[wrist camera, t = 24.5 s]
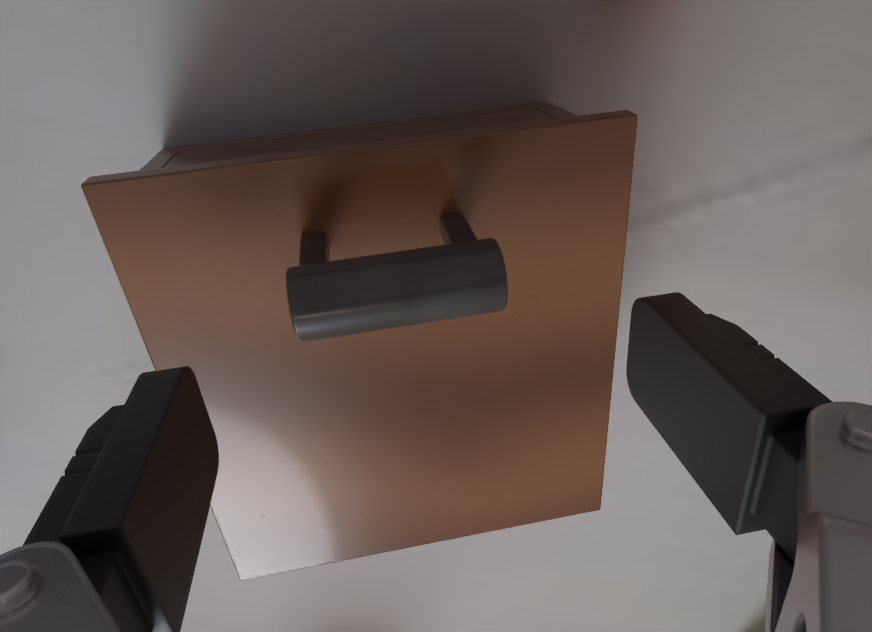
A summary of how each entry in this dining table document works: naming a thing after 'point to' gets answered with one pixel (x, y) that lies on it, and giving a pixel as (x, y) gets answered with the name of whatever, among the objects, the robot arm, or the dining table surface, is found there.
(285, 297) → the lid
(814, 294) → the dining table surface
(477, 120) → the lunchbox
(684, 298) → the robot arm
